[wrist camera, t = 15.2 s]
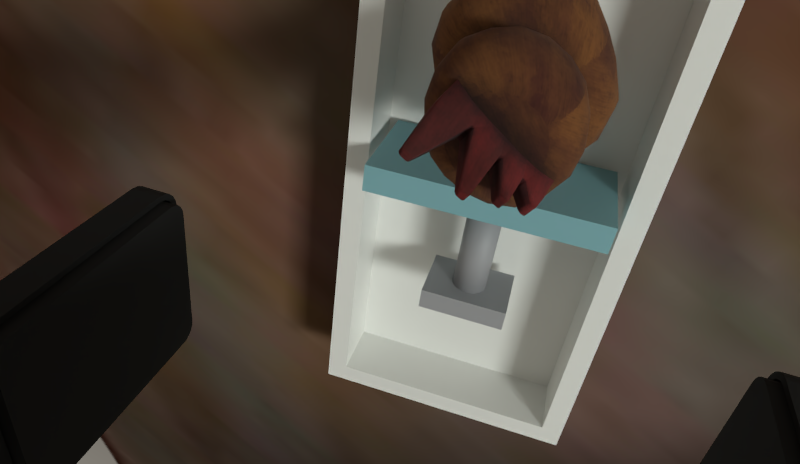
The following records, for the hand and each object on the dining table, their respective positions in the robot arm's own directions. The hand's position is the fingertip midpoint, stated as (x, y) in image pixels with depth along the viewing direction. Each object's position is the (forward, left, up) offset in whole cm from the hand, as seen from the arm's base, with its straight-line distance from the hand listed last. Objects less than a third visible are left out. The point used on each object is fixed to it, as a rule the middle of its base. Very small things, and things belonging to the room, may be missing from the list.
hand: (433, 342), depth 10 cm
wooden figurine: (0, 0, -19) cm, 19 cm away
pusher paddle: (0, +8, -18) cm, 20 cm away
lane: (0, +7, -20) cm, 21 cm away
